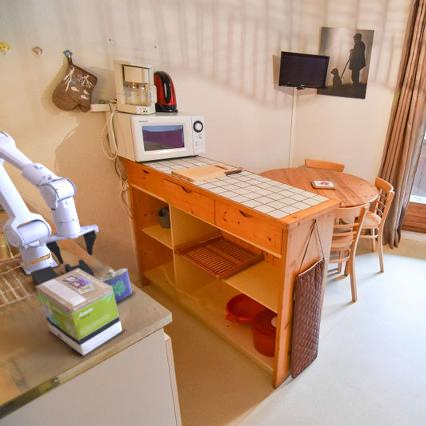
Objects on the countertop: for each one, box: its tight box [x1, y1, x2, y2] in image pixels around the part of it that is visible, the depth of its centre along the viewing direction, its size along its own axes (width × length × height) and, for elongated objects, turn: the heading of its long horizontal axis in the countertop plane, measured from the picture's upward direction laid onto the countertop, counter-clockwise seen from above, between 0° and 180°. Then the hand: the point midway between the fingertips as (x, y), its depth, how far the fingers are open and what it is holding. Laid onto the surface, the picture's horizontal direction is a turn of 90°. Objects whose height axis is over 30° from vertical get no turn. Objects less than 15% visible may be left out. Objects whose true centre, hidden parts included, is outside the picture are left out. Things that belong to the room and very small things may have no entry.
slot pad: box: [63, 259, 96, 278], centre depth 102 cm, size 10×5×4 cm, turn 51°
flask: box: [97, 267, 133, 305], centre depth 92 cm, size 9×3×11 cm, turn 148°
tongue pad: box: [30, 266, 60, 286], centre depth 97 cm, size 12×5×4 cm, turn 51°
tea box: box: [35, 268, 123, 356], centre depth 79 cm, size 15×10×15 cm
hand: (76, 258), depth 100 cm, fingers open, 7 cm apart
